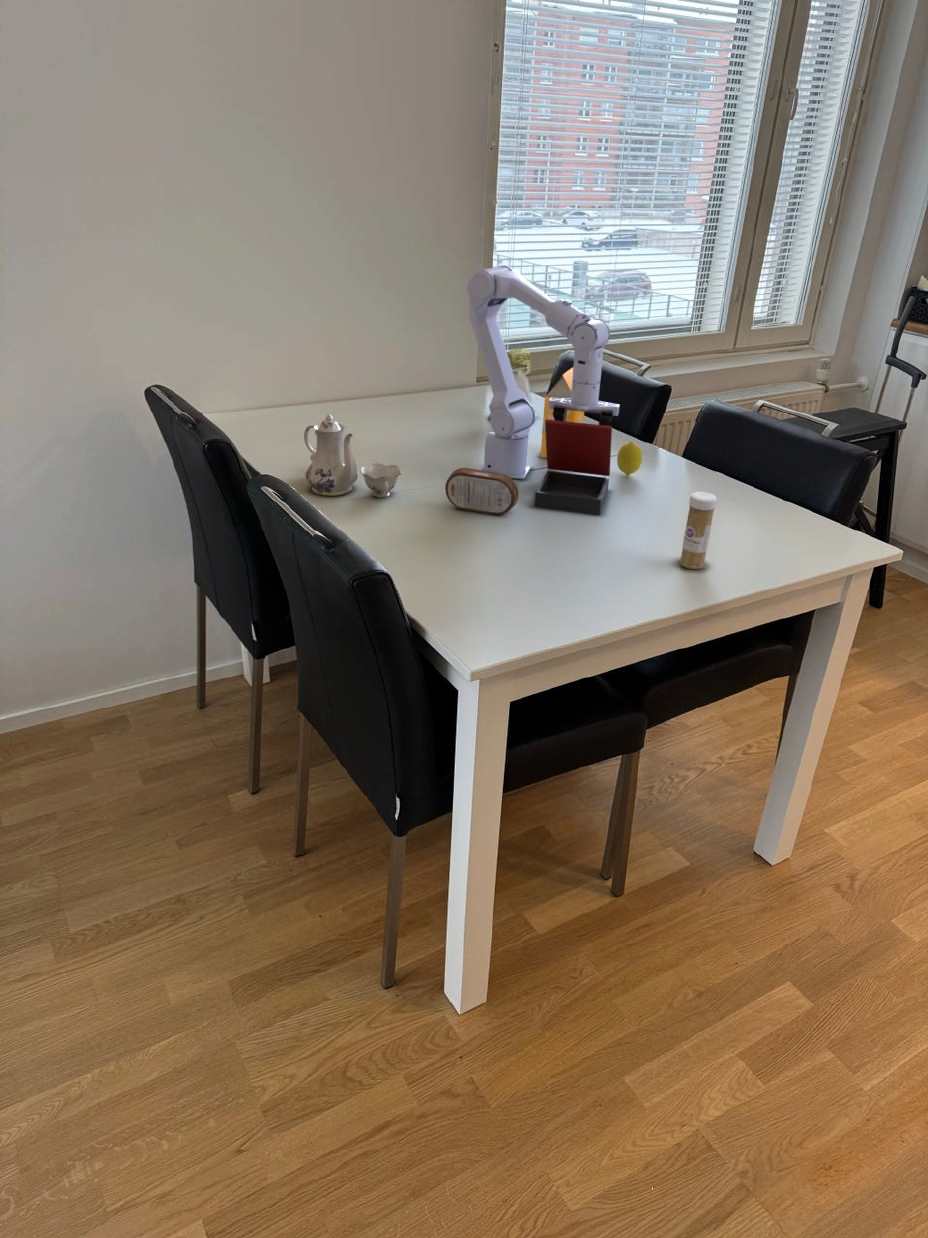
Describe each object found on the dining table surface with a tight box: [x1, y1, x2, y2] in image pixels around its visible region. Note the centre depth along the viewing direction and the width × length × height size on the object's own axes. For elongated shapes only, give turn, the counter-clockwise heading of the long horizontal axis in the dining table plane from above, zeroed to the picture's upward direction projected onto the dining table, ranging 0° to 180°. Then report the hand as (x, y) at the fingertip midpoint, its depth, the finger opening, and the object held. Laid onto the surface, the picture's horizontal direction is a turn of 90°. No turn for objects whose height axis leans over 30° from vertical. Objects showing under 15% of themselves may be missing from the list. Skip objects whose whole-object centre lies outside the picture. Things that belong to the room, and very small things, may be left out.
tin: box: [444, 467, 519, 516], centre depth 185 cm, size 15×3×8 cm, turn 71°
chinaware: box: [303, 413, 403, 498], centre depth 193 cm, size 28×17×17 cm, turn 47°
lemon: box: [616, 441, 643, 477], centre depth 207 cm, size 6×6×8 cm
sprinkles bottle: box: [679, 491, 718, 570], centre depth 164 cm, size 5×5×14 cm
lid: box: [545, 419, 613, 477], centre depth 193 cm, size 15×14×4 cm
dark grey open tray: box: [533, 469, 610, 516], centre depth 194 cm, size 15×14×3 cm
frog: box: [489, 348, 539, 417], centre depth 242 cm, size 12×13×18 cm
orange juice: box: [539, 366, 585, 459], centre depth 216 cm, size 8×9×20 cm
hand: (580, 444), depth 194 cm, fingers open, 7 cm apart
